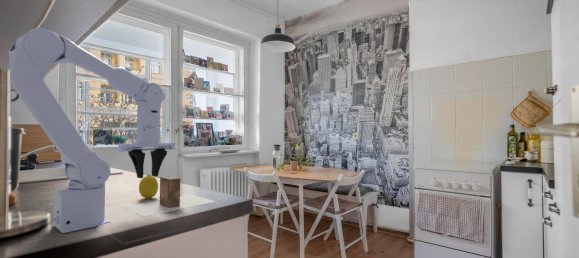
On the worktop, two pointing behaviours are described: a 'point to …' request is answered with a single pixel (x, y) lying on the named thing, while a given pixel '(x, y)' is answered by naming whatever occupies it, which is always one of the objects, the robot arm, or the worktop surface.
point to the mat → (156, 208)
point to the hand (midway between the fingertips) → (147, 176)
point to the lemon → (148, 187)
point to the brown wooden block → (170, 191)
